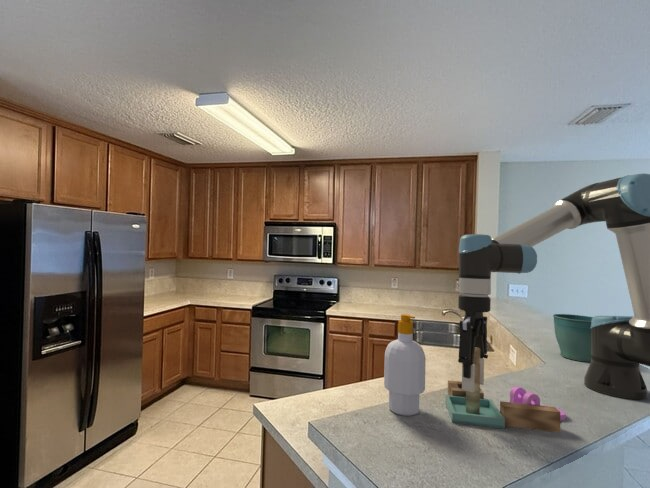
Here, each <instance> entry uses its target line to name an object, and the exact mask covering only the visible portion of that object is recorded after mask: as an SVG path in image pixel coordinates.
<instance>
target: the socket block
mask: <svg viewBox="0 0 650 488" xmlns="http://www.w3.org/2000/svg"><path fill="white" fill-rule="evenodd" d="M447 395H451V396H461V397H466V390H462V381H460V380H459V381H458V380H447ZM484 396H485V395H484V391H483V390H482V389H481V388H480V399H485V397H484Z"/></svg>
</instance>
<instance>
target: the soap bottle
mask: <svg viewBox="0 0 650 488" xmlns="http://www.w3.org/2000/svg"><path fill="white" fill-rule="evenodd" d="M411 319H416V316H413V315H411V314H405V313H404V314H403V313H402V314H401V315H400V319H399V320H398V328H397V331H398V332H397V339H395V340H392V341H390V342H389V343H388V344H387V346H386V348H385V352H384V365H383V367H384V368H383V370H384V372H383V375H384V376H383V385H384V389H386V390H387V391H388V408H389V410H390V411H392V413H394V414H395V415H400V416H404V417H405V416H408V417H409V416H414V415H416V414H418V413H419V411H420V395H421V394H423V393H424V392H425V390H426V362H427V361H426V360H427V359H426V354H425V351H424V349H423V347H422V346H421V345H420V344H419V343H418V342H416V341H415V340H413V335H414V334H413V333H414V332H413V330H414V329H413V328H414V327H413V326H414V325H413V324H414V322H413V320H411Z"/></svg>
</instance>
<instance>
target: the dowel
mask: <svg viewBox="0 0 650 488" xmlns="http://www.w3.org/2000/svg"><path fill="white" fill-rule="evenodd" d="M473 364H474V365H475V373H474V392H469V391H466V412H467V413H468V414H477V415H479V414H480V389H481V384H480V348H478V347H475V351H474V359H473Z"/></svg>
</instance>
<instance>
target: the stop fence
mask: <svg viewBox="0 0 650 488" xmlns="http://www.w3.org/2000/svg"><path fill="white" fill-rule="evenodd" d="M550 406H551V405H541V404H540V405H530V404H521V403H511V402H510V401H500V402H499V411H500V413H501V414H502V416H503V417H504V418H505V427H512V428H519V429H529V430H538V431H547V432H553V433H554V432H555V433H561V420H560V412H559V411H558V410H557V409H556V408H557V407H556V406H551V407H550ZM555 407H556V408H555Z"/></svg>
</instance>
